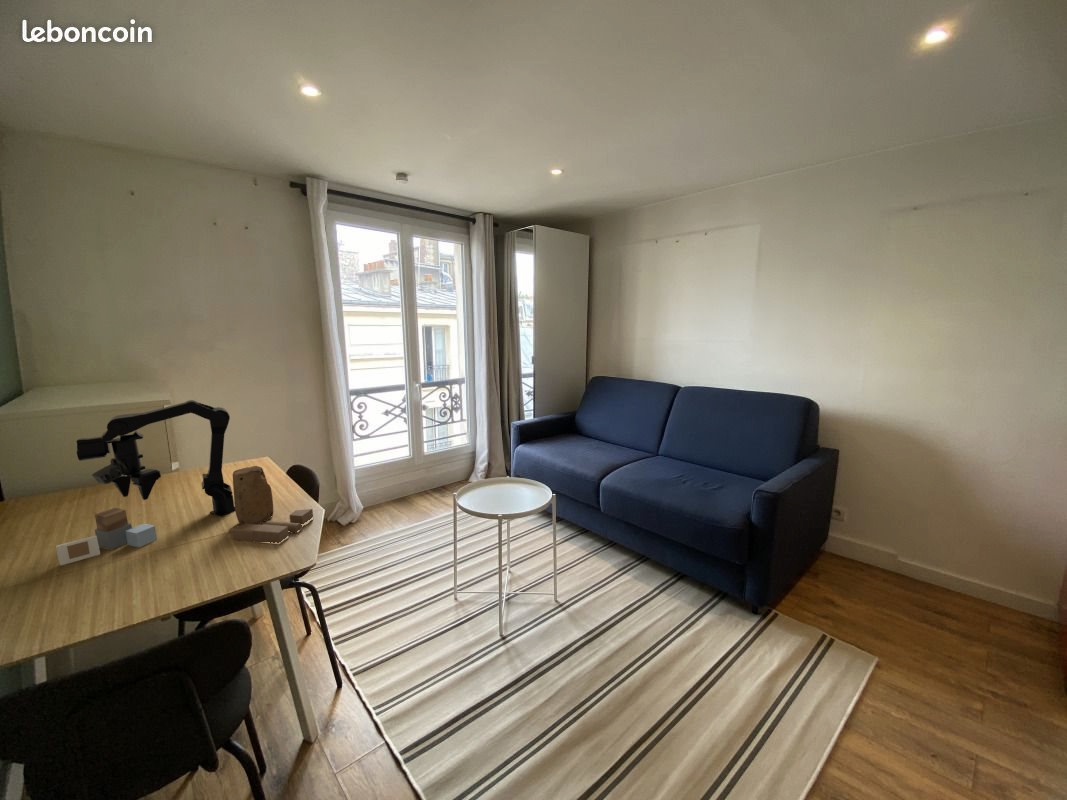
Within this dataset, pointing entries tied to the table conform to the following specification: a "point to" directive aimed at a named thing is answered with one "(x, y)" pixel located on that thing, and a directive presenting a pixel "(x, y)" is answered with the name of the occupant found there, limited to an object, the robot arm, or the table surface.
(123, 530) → the base block
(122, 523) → the walnut cube
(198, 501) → the table surface
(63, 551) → the placard
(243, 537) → the wooden block set
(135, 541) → the slate cube
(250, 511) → the block
